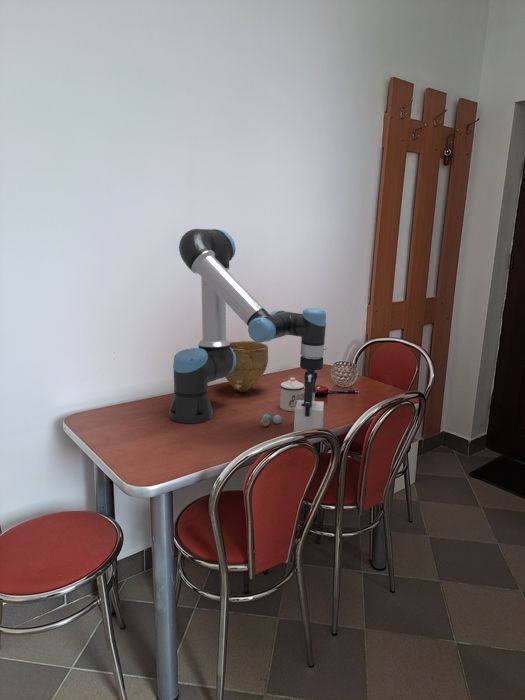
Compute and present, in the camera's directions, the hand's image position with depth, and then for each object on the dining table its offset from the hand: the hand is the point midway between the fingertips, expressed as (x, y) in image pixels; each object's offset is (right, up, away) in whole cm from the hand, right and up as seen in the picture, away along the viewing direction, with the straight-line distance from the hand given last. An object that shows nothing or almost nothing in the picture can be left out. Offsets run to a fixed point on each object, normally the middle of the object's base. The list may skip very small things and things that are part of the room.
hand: (308, 417), depth 169 cm
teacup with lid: (-3, +1, +22) cm, 22 cm away
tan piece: (-24, +5, +39) cm, 46 cm away
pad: (0, -4, +1) cm, 4 cm away
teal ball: (-14, -2, +6) cm, 15 cm away
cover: (0, -3, +1) cm, 4 cm away
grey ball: (-10, -3, +5) cm, 12 cm away
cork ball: (-14, -3, +2) cm, 15 cm away
